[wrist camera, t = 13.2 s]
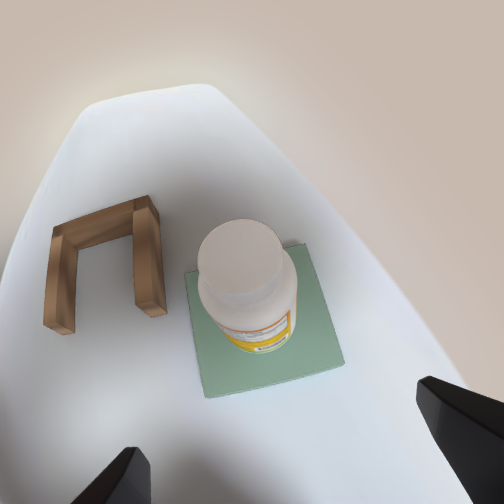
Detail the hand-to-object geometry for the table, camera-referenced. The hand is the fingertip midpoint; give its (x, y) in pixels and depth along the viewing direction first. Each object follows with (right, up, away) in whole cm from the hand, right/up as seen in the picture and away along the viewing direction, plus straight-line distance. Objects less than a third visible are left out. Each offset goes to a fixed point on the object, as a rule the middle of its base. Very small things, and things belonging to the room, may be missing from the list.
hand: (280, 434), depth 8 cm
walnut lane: (-14, +4, +20) cm, 25 cm away
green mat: (0, 0, +16) cm, 16 cm away
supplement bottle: (0, 0, +15) cm, 15 cm away
